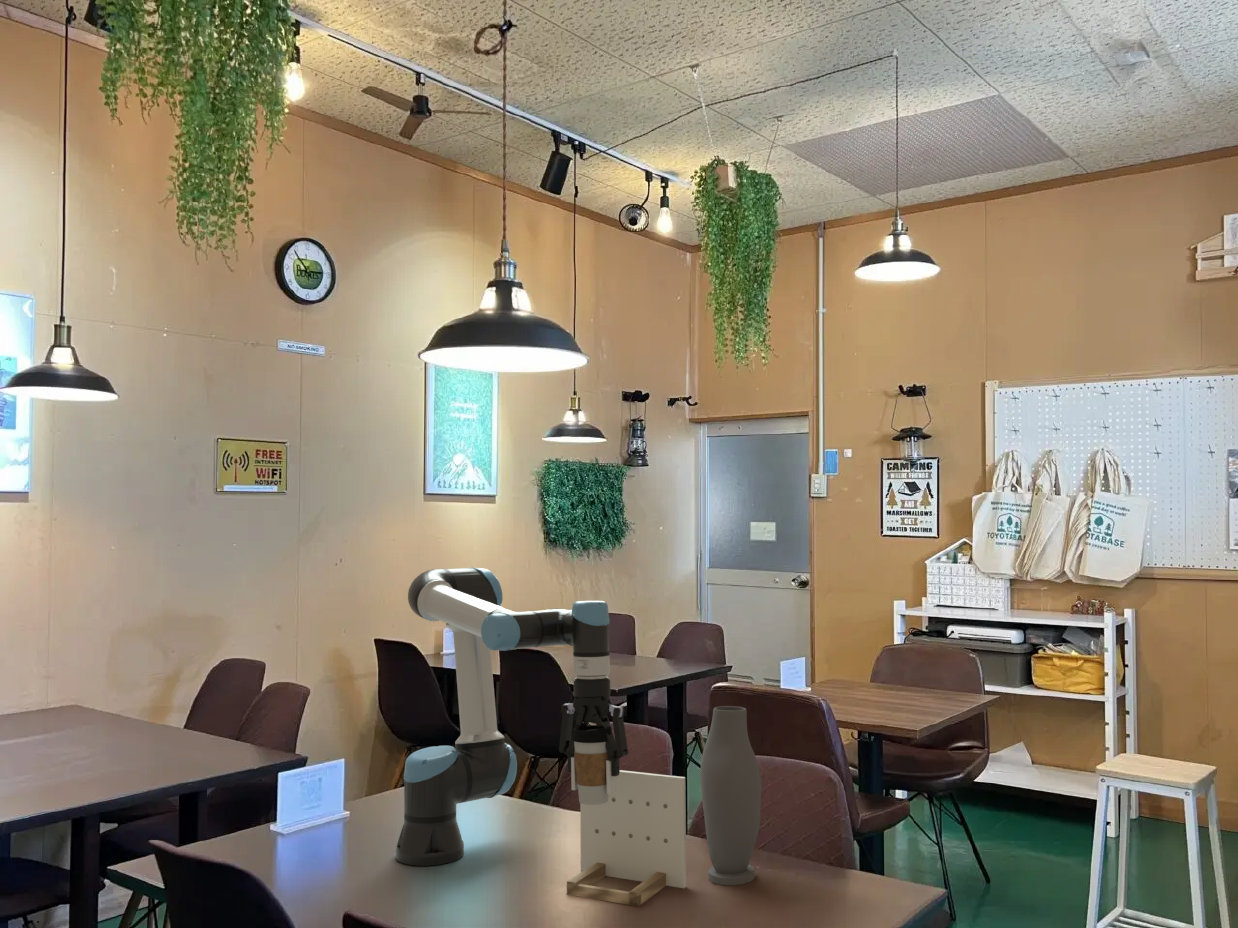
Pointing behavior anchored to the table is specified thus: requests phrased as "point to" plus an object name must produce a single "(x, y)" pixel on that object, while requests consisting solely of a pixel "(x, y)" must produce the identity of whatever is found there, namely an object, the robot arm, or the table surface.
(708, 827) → the vase
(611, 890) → the wooden tray
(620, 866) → the wall board
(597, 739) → the coffee cup
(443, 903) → the table surface
